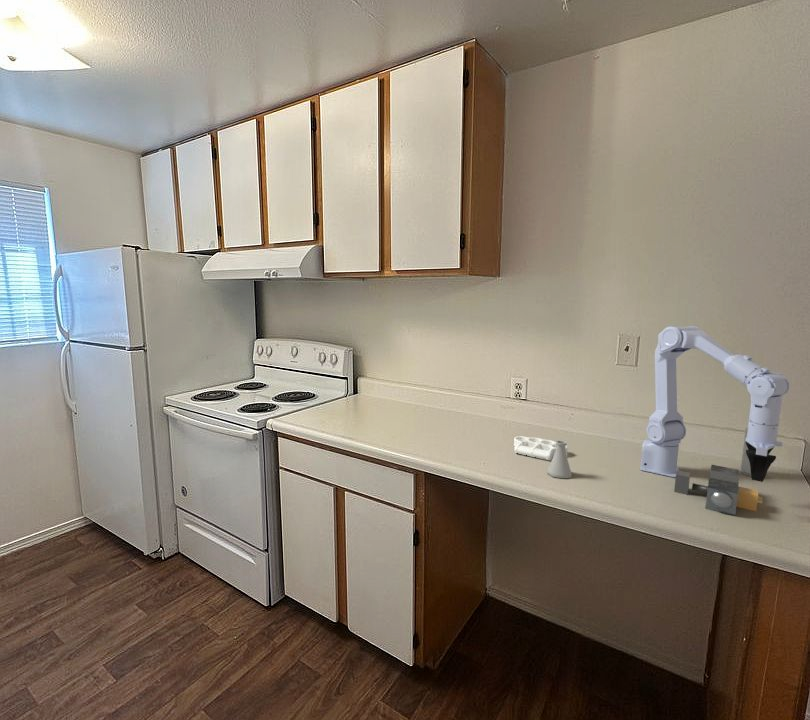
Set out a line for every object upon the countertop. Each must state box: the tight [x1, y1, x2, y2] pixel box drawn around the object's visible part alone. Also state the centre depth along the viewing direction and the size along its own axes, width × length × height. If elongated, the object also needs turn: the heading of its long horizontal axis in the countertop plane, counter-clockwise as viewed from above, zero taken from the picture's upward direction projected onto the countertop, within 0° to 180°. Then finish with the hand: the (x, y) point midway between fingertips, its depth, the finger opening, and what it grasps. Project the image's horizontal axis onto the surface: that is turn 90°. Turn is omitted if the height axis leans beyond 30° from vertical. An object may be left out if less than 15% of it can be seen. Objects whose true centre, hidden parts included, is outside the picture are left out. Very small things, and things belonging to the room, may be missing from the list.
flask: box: [546, 439, 573, 479], centre depth 130 cm, size 7×7×10 cm
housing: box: [705, 464, 740, 516], centre depth 114 cm, size 6×17×6 cm, turn 143°
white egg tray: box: [513, 435, 569, 461], centre depth 150 cm, size 3×18×15 cm
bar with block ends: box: [673, 470, 763, 512], centre depth 115 cm, size 18×4×5 cm, turn 53°
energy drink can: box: [740, 426, 751, 477], centre depth 131 cm, size 6×6×15 cm
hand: (756, 475), depth 110 cm, fingers open, 7 cm apart
